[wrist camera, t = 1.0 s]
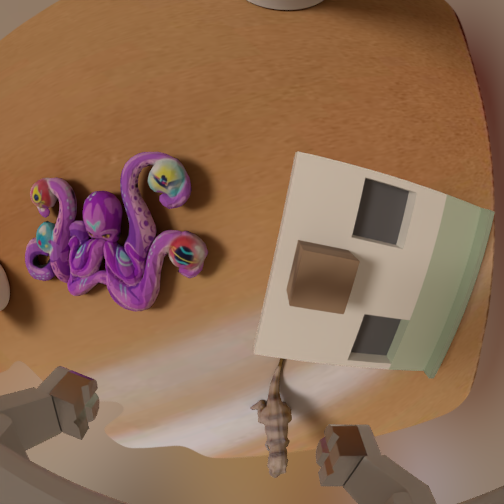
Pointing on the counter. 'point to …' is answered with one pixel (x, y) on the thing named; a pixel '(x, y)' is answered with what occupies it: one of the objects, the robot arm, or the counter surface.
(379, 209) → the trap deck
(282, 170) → the counter surface
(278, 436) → the toy
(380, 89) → the counter surface
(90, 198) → the decorative sculpture
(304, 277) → the walnut block
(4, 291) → the cup
